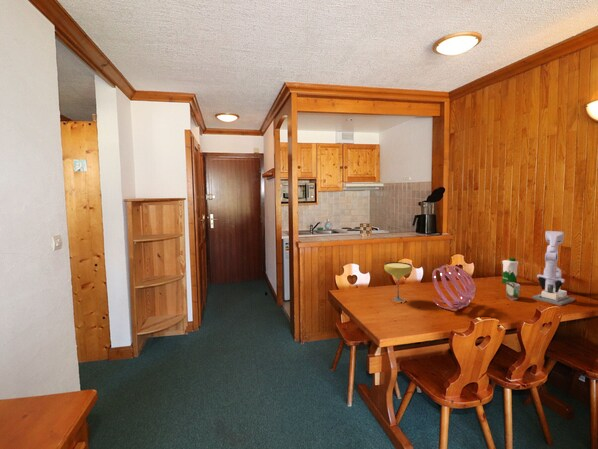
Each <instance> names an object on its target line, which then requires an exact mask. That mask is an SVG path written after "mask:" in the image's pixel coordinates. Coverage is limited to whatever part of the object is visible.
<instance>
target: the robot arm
mask: <svg viewBox="0 0 598 449" xmlns="http://www.w3.org/2000/svg"><path fill="white" fill-rule="evenodd" d="M544 235H545V236H544V237H545V238H544V239H545V241H546V243H548V245H547V247H546V252H545V254H544V261H545V262H544V263H545V267H544V268H543V274H536V278H537V281H539V282H538V283H539V284H540V288H541V290H545V291H547V288H548V284H551V285H554V286H553V288H555V292H556V293H557V292H558V291H559V290H561V286H562V285H563V284H564V283H565V282H566V279H564V278H562V274H563V273H562V269H561V268H559V267H558V261H559V245H560V244H563V242H564V238H565V236H564V235H565V233H564V231H556V230H555V231H554V230H546V231H545V234H544Z"/></svg>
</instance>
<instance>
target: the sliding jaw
mask: <svg viewBox="0 0 598 449" xmlns="http://www.w3.org/2000/svg"><path fill="white" fill-rule="evenodd" d="M553 286H554V285H551V284H548V288H547V291H545V289H543V290H541V293H542V294H541V293H540V294H541V297H545V298H549V299H554V300H557V299H559V293H554V292H553Z"/></svg>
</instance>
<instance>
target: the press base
mask: <svg viewBox="0 0 598 449" xmlns="http://www.w3.org/2000/svg"><path fill="white" fill-rule="evenodd" d="M553 292H554V293H556V292H555V288H553ZM557 293H559V299H557V300H554V299H549V298H545V297H541V294H542V292H541V293H539V294H535V295H532V299H534V300H537V301H541V302H545V303H550V304H554V305H556V306H564V305H566V304H569V303H572V302H575V301H576V300H575V298H574V297H570V296H568V294H567V290H563V289H560V290H559V291H558V292H557Z"/></svg>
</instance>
